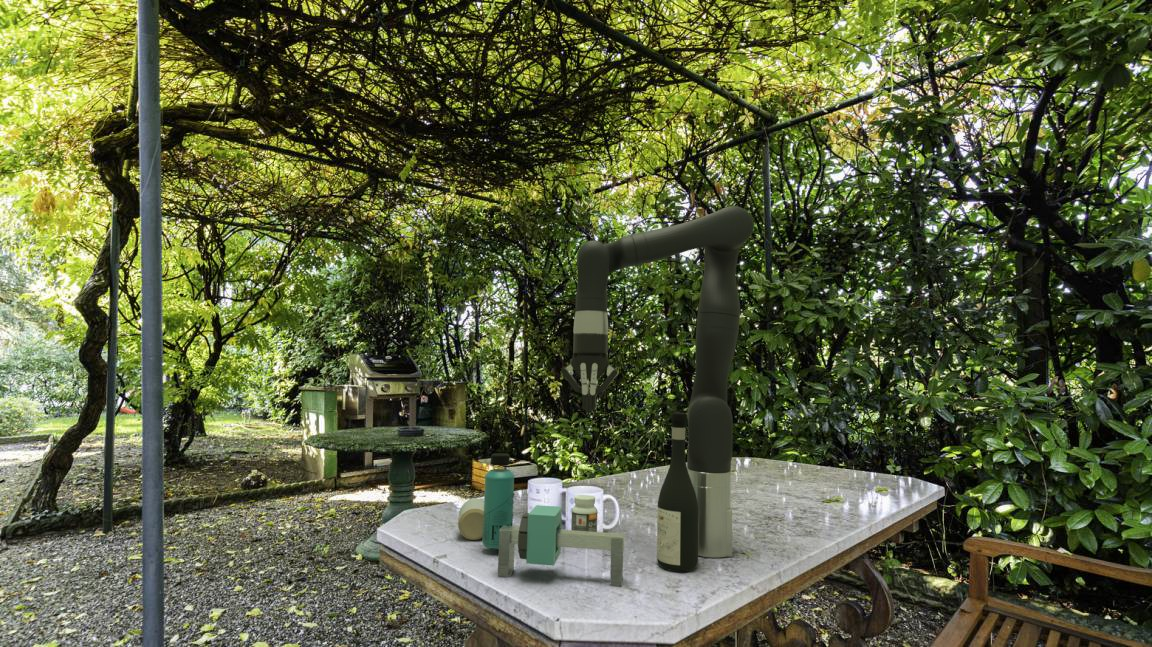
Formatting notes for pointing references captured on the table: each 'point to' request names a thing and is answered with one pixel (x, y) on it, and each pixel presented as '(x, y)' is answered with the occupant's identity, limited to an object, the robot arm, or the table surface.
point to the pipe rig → (566, 539)
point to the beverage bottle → (497, 500)
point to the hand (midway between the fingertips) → (588, 412)
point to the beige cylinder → (471, 519)
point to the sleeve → (543, 535)
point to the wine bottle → (677, 509)
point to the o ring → (523, 537)
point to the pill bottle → (584, 514)
